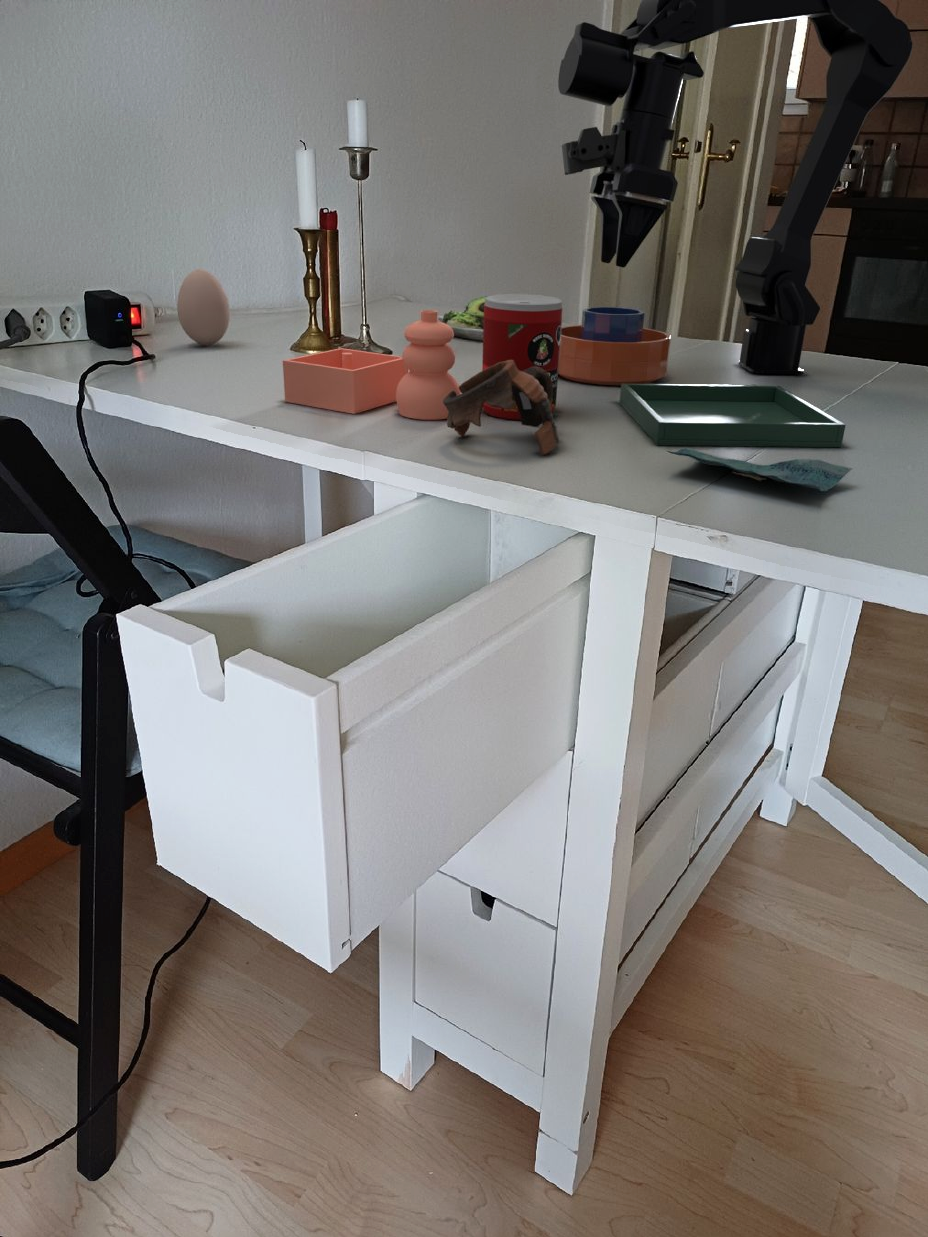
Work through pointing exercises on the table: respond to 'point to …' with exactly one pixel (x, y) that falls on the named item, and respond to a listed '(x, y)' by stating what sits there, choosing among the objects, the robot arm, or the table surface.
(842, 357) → the table surface
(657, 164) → the robot arm
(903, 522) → the table surface
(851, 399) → the table surface
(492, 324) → the canned food
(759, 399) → the green tray
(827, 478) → the terrain model
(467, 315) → the salad plate
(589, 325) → the blue cup
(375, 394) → the pottery
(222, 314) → the egg
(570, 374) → the terracotta bowl
